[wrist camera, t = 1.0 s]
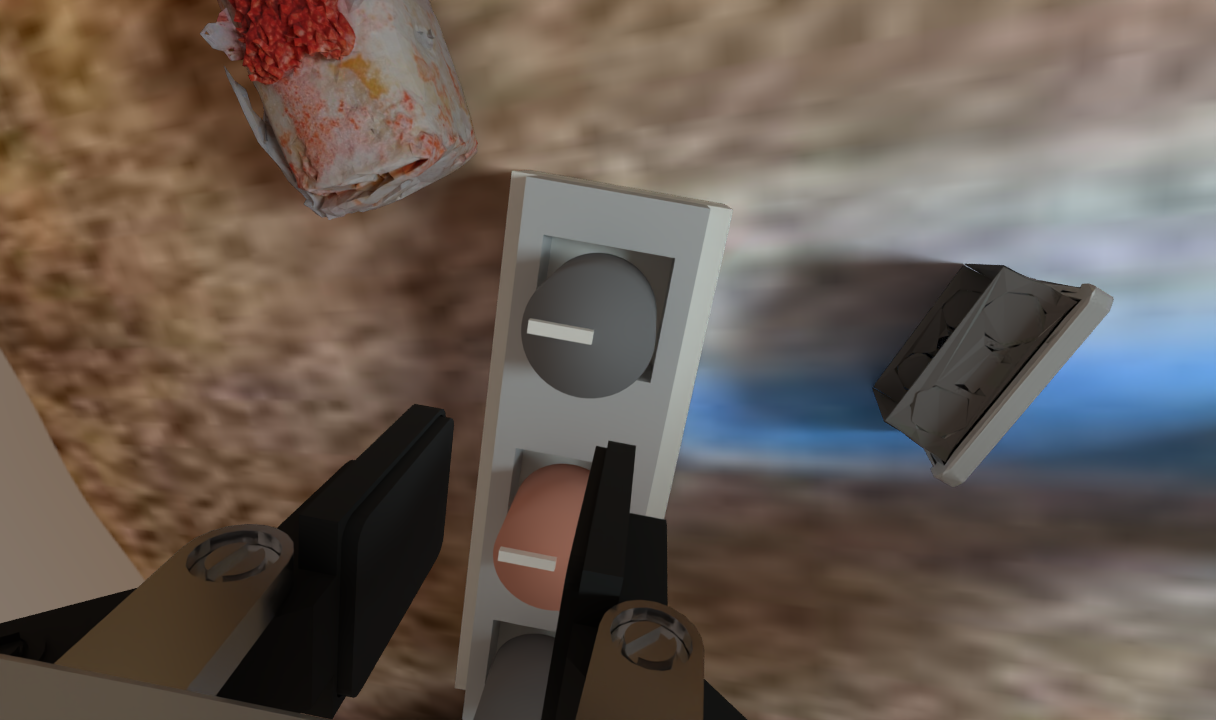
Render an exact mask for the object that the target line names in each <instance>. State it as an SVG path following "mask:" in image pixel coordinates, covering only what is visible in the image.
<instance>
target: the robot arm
mask: <svg viewBox="0 0 1216 720" xmlns="http://www.w3.org/2000/svg"><path fill="white" fill-rule="evenodd" d="M453 430H454V421H453V419H452V418H447V417H446V415H445V411H444V409H439V408H434V407H429V406H423V405H418V404H414V405H412V406H411V407H410V408H409V409H408V410H407V411H406V412H405V413H404V414H403V415H402V416H401V417H400V418H399V419H398V420H397V421H396V422H395V423H394V424H393V425H392V426H390V427H389V428H388V429H387V430H386V431H385V432H384V433H383V434H382V435H381V436H380V437H379V438H378V439H377V440H376V441H375V442H374V443H373V444H372V445H371V446H370V447H369V448H368V449H367V450H365V451H364V452H363V453H362V454H361V455H360V456H359V457H358V458H357V459H356V460H350V461H349V462H347V463H346V464H345V465H344V466H342V467H341V468H340V469H339V470H338V471H337V472H336V473H335V474H334V475H333V476H332V477H331V478H330V479H329V480H328V481H326V482H325V483H324V484H323V485H322V486H321V487H320V488H319V489H318V490H317V491H316V492H315V493H314V494H313V495H312V496H311V497H309V498H308V499H307V500H306V501H305V502H304V503H303V504H302V505H301V506H300V507H299V508H298V509H297V510H296V511H295V512H294V513H292V514H291V515H290V516H289V517H288V518H287V519H286V520H285V521H284V522H283V523H282V524H281V525H280V526H279V527H278V528H274V527H270V526H266V525H254V524H244V525H235V526H228V527H224V528H220V529H217V530H213V531H210V532H208V533H206V534H203V535H201V536H199V537H197V538H195V539H193V540H192V541H191V542H189V543H188V544H186V545H185V546H183V547H182V548H181V549H180V550H179V551H178V552H177V553H175V554H174V555H173V556H172V557H171V558H170V559H169V560H168V561H167V562H166V563H164V564H163V565H162V566H161V567H160V568H159V569H158V570H157V571H156V572H154V573H153V574H152V575H151V576H150V577H149V578H148V579H147V580H146V581H145V582H143V583H142V584H141V585H140V586H139V587H138V588H135V589H131V590H127V591H123V592H119V593H115V594H112V595H108V596H104V597H100V598H96V599H92V600H88V601H85V602H81V603H77V604H74V605H69V606H65V607H62V608H58V609H54V610H50V611H46V612H42V613H39V614H35V615H31V616H27V617H23V618H19V619H15V620H12V621H8V622H4V623H0V720H329V719H333V717H334V715H335V714H336V712H337V710H338V709H339V707H340V705H341V704H342V702H343V700H344V699H345V697H346V696H348V697H353V698H354V697H356V696H357V695H358V694H359V692H360V691H361V689H362V687H363V686H364V684H365V682H366V681H367V679H368V677H369V675H370V674H371V672H372V670H373V668H374V667H375V665H376V663H377V661H378V660H379V658H380V656H381V654H382V653H383V651H384V649H385V648H386V646H387V644H388V642H389V641H390V639H391V637H392V635H393V634H394V632H395V630H396V628H397V627H398V625H399V623H400V621H401V620H402V618H403V616H404V614H405V613H406V611H407V609H408V608H409V606H410V604H411V602H412V601H413V599H414V597H415V595H416V594H417V592H418V590H419V588H420V587H421V585H422V583H423V581H424V580H425V578H426V576H427V575H428V573H429V571H430V569H431V568H432V566H433V564H434V562H435V561H436V559H437V557H438V555H439V552H440V550H441V546H442V542H443V536H444V525H445V515H446V504H447V493H448V483H449V472H450V461H451V451H452V440H453ZM635 452H636V445H630V444H625V443H620V442H614V441H609V440H608V445H607V448H606V447H600V446H596V448H595V452H594V456H593V461H592V465H591V469H590V473H589V477H588V482H587V486H586V490H585V494H584V498H583V503H582V507H581V511H580V515H579V519H578V523H577V528H576V532H575V536H574V540H573V544H572V549H571V553H570V557H569V562H568V566H567V571H566V577H565V582H564V587H563V593H562V599H561V605H560V611H559V617H558V622H557V628H556V634H555V640H554V646H553V652H552V658H551V663H550V669H549V675H548V681H547V687H546V693H545V698H544V704H543V710H542V716H541V720H747V719H746V718H745V717H744V716H743V715H742V714H741V713H740V712H739V711H738V710H737V709H735V708H734V707H733V706H732V705H731V704H730V703H729V702H728V701H727V700H726V699H725V698H724V697H723V696H722V695H721V694H720V693H719V692H717V691H716V690H715V689H714V688H713V687H712V686H711V685H710V684H709V683H708V682H707V681H706V680H705V679H704V646H703V641H702V637H701V636H700V634H699V632H698V630H697V629H696V627H695V626H694V625H693V624H692V623H691V622H690V621H689V620H688V619H687V618H686V617H685V616H684V615H683V614H681V613H679V612H678V611H676V610H675V609H673V608H671V607H669V606H668V605H667V523H666V520H664V519H659V518H654V517H649V516H644V515H638V514H633V513H630V505H631V494H632V484H633V473H634V463H635ZM300 713H304V714H300ZM305 714H309V715H305ZM310 715H314V716H310ZM315 716H319V717H315ZM320 717H323V718H320ZM324 718H328V719H324Z"/></svg>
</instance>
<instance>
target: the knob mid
mask: <svg viewBox="0 0 1216 720" xmlns="http://www.w3.org/2000/svg"><path fill="white" fill-rule="evenodd" d="M589 473H590V470H588V469H586V468H583V467H580V466H577V465H572V464H552V465H548V466H545V467H542V468H540V469H538V470H536V471H534V472H533V473H531V474H530V475H529V476H528V477H527V478H526V479H525V480H524V481H523V482H522V484H521V485H520V487H519V489H518V491H517V493H516V495H515V498H514V500H513V502H512V504H511V507H510V509H509V511H508V513H507V516H506V518H505V520H504V522H503V525H502V527H501V529H500V531H499V534H498V536H497V538H496V541H495V544H494V549H493V562H494V567H495V570H496V573H497V575H498V577H499V579H500V581H501V582H502V584H503V585H504V586H505V588H506V589H507V590H508V591H509V592H510V593H511V594H512V595H514V596H515V597H516V598H518V599H519V600H521V601H522V602H524V603H526V604H528V605H531V606H533V607H536V608H540V609H544V610H551V611H560V605H561V599H562V593H563V587H564V582H565V577H566V571H567V566H568V562H569V557H570V553H571V549H572V544H573V540H574V536H575V532H576V528H577V523H578V519H579V515H580V511H581V507H582V503H583V498H584V494H585V490H586V486H587V482H588V477H589Z"/></svg>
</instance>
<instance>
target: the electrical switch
mask: <svg viewBox="0 0 1216 720" xmlns="http://www.w3.org/2000/svg"><path fill="white" fill-rule="evenodd" d="M965 265H967V266H968V267H970V268H972V269H973V270H972V269H970V268H968V267H966V266H963V267H962V268H961V269H960V271H959V272H958V273H957V275H956V276H955V277H954V279H953V280H952V281H951V283H950V284H949V285H948V287H947V288H946V289H945V291H944V292H943V293H942V295H941V296H940V297H939V299H938V300H937V301H936V303H935V304H934V305H933V307H932V308H931V309H930V311H929V312H928V313H927V315H926V316H925V318H924V319H923V320H922V322H921V323H920V324H919V326H918V327H917V328H916V330H915V331H914V332H913V334H912V335H911V336H910V338H909V339H908V340H907V342H906V343H905V344H904V346H903V347H902V348H901V350H900V351H899V352H898V354H897V355H896V356H895V358H894V359H893V360H892V362H891V363H890V364H889V366H888V367H887V368H886V370H885V371H884V373H883V374H882V375H881V377H880V378H879V379H878V381H877V382H876V383H875V385H874V387H875V388H876V389H878V390H879V391H878V390H876V389H874V388H873V387H872V389H873V392H874V395H875V397H876V400H877V403H878V406H879V409H880V412H881V414H882V417H883V420H884V422H886V423H887V424H889V425H891V426H892V427H894V428H896V429H898V430H899V431H901V432H902V433H904V434H905V435H906V436H907V437H909V438H910V439H911V440H913V441H914V442H915V443H917V444H918V445H919V446H921V447H922V448H924V450H925V452H926V454H927V456H928V458H929V460H930V461H931V463H932V465H933V467H932V468H931V472H932V474H933V476H934V477H935V478H937V479H939V480H941V481H942V482H944V483H946V484H948V485H950V486H951V487H953V488H954V487H956V486H958V485H960V484H962V483H964V482H965V481H966V479H967V478H968V477H969V476H970V475H971V474H972V472H973V471H974V470H975V469H976V468H977V467H978V465H979V464H980V463H981V462H982V461H983V459H984V458H985V457H986V456H987V455H988V454H989V452H990V451H991V450H992V449H993V448H994V447H995V445H996V444H997V443H998V442H999V441H1000V439H1001V438H1002V437H1003V436H1004V435H1005V434H1006V432H1007V431H1008V430H1009V429H1010V428H1011V427H1012V425H1013V424H1014V423H1015V422H1016V421H1017V419H1018V418H1019V417H1020V416H1021V415H1022V414H1023V412H1024V411H1025V410H1026V409H1027V408H1028V407H1029V405H1030V404H1031V403H1032V402H1033V401H1034V400H1035V398H1036V397H1037V396H1038V395H1039V394H1040V392H1041V391H1042V390H1043V389H1044V388H1045V387H1046V385H1047V384H1048V383H1049V382H1050V381H1051V380H1052V378H1053V377H1054V376H1055V375H1056V374H1057V372H1058V371H1059V370H1060V369H1061V368H1062V367H1063V365H1064V364H1065V363H1066V362H1067V361H1068V360H1069V358H1070V357H1071V356H1072V355H1073V354H1074V352H1075V351H1076V350H1077V349H1078V348H1079V347H1080V345H1081V344H1082V343H1083V342H1084V341H1085V340H1086V338H1087V337H1088V336H1089V335H1090V334H1091V333H1092V331H1093V330H1094V329H1095V328H1096V327H1097V325H1098V324H1099V323H1100V322H1101V321H1102V320H1103V318H1104V317H1105V316H1106V315H1107V314H1108V313H1109V311H1110V309H1111V306H1112V303H1113V300H1114V299H1113V297H1112V296H1110V295H1109V294H1107V293H1105V292H1104V291H1102V290H1101V289H1099V288H1097V287H1096V286H1094V285H1091V284H1082V285H1081V287H1073V286H1068V285H1062V284H1057V283H1052V282H1046V281H1041V280H1036V279H1033V278H1029V277H1026V276H1024V275H1022V274H1019V273H1017V272H1015V271H1013V270H1012V269H1010V268H1008V267H1006V266H1004V265H983V264H965ZM974 270H975V271H974ZM976 271H977V272H976ZM978 272H979V273H978ZM967 290H968V291H967ZM972 291H973V292H972ZM944 303H945V305H944V307H943V308H942V305H943V304H944ZM946 322H947V324H948V326H951V327H953V328H956V329H955V330H952V329H950V328H949V327H947V324H946ZM944 336H948V337H949V338H948V339H947V340H946V342H945V343H944V344H943V346H942V347H941V348H940V349H938V348H937V343H938V341H939V340H940V339H941V338H942V337H944ZM911 353H915V354H913V355H911V356H909V355H910V354H911ZM922 353H928V354H930V355H932V356H933V359H931V358H930V357H928V356H927V355H926V354H922ZM908 356H909V357H908ZM897 366H898V369H897ZM904 387H905V388H907V389H909V390H905V388H904ZM880 391H881V392H883V393H884V394H883V393H881V392H880ZM885 394H886V395H885ZM888 396H889V397H888Z"/></svg>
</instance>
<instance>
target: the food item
mask: <svg viewBox="0 0 1216 720" xmlns="http://www.w3.org/2000/svg"><path fill="white" fill-rule="evenodd" d="M217 1H218V3H219V6H220V8H221V11H222V12H220V13H219V16H218V19H217V21H216V23H208V24H207V25H206V26H205V28H204V29H203V30H202V31H201V33H200V34H201V36H202V37H203V38H204V39H205V40H206V41H207V42H208V43H209V44H210V45H211V47H212V48H213V49H217V50H220V51H224V52H225V54H226V55H227V56H228V57H229V59H230V60H231V61H234V60H243V59H244V61H243V66H246V68H247V70H248V73H249V75H248V76H249V78H250V80H251V81H252V82H253V83H254V85H255V87H256V89H257V91H258V93H259V95H260V98H261V100H262V103H263V106H264V107H263V108H264V116H263V120H262V119H261V118H260V117H259V116H258V115H257V114H256V113H255V112H254V111H253V110H252V107H251V104H250V101H249V97H248V94H247V91H246V89H245V88H243V87H242V86H241V85H240V84H238V83H237V82H236V81H234V79H233V78H232V76H231V75H230V73H229V72H228V71H227V69H226V68H225V66H224V68H225V71H226V74H227V77H228V79H229V81H230V83H231V85H232V87H233V89H234V92H235V94H236V96H237V98H238V100H239V103H240V105H241V107H242V110H243V112H244V114H245V116H246V118H247V120H248V122H249V124H250V126H251V128H252V130H253V132H254V134H255V137H256V139H257V141H258V143H259V144H260V145H261V146H262V147H263V148H264V150H265V151H266V152H267V153H268V154H269V155H270V156H271V158H272V159H273V160H274V161H275V162H276V163H277V164H278V166H279V167H280V169H281V171H282V172H283V174H284V175H285V177H286V178H287V180H288V181H289V182H290V183H291V184H292V185H293V186H294V187H295V188H296V189H297V190H298V191H299V192H300V193H302V195H303V196H304V197H305V198H306V201H305V203H304V205H306V206H307V207H309V208H311V209H312V210H313V211H314V212H315V213H316V214H317V215H319V216H321V217H326V216H327V218H328V220H330V219H333V218H337V217H344V215H345V214H347V213H354V212H357V211H360V212H365V211H368V210H373V209H377V208H380V207H382V206H385V205H388V204H390V203H393V202H395V201H398V200H400V199H402V198H404V197H406V196H408V195H410V194H412V193H414V192H416V191H418V190H420V189H422V188H424V187H425V186H427V185H429V184H431V183H433V182H435V181H437V180H439V179H441V178H443V177H445V176H447V175H449V174H451V173H452V172H454V171H456V170H457V169H459V168H460V167H461V166H462V165H464V164H465V163H466V162H467V161H468V160H469V159H470V158H471V157H472V156H473V155H474V154H475V153H476V152H477V144H478V143H477V140H476V138H475V134H474V129H473V125H472V120H471V117H470V113H469V110H468V106H467V103H466V100H465V96H464V93H463V90H462V87H461V84H460V82H459V79H458V76H457V73H456V70H455V67H454V65H453V62H452V59H451V56H450V53H449V51H448V48H447V45H446V42H445V40H444V37H443V34H442V31H441V29H440V26H439V23H438V20H437V18H436V16H435V14H434V13H433V11H432V7H431V4H430V1H429V0H217ZM206 31H207V32H208V34H209V35H206V34H205V32H206ZM230 49H234V51H228V50H230ZM229 55H231V56H229Z"/></svg>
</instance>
